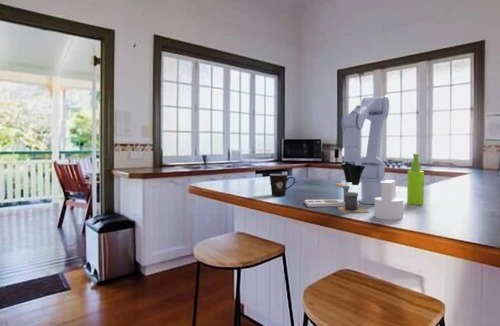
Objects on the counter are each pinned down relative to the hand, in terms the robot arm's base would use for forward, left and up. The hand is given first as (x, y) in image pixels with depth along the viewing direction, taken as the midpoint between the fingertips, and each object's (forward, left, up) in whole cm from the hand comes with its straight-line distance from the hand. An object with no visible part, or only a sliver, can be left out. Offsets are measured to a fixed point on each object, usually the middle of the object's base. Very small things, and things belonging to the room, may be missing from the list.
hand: (352, 183), depth 124 cm
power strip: (+5, -12, -10) cm, 16 cm away
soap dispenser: (-29, -12, -10) cm, 33 cm away
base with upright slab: (-9, +11, -10) cm, 17 cm away
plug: (0, 0, -10) cm, 10 cm away
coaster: (0, 0, -10) cm, 10 cm away
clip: (-1, -17, -3) cm, 17 cm away
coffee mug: (+23, -36, -10) cm, 44 cm away
